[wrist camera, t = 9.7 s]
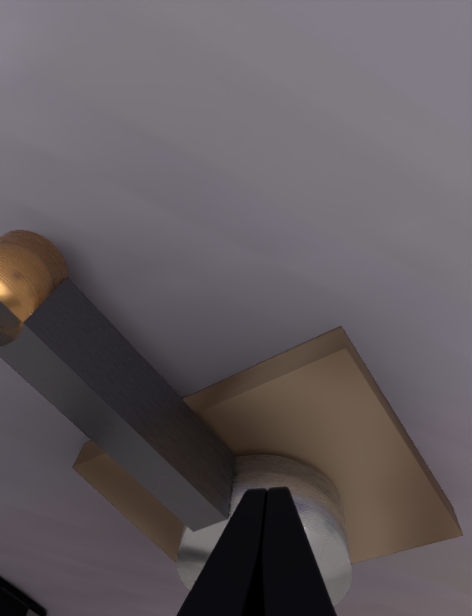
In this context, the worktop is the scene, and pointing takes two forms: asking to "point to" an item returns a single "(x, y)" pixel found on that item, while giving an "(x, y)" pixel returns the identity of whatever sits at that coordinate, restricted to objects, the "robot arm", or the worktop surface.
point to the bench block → (307, 448)
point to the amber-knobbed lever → (147, 415)
